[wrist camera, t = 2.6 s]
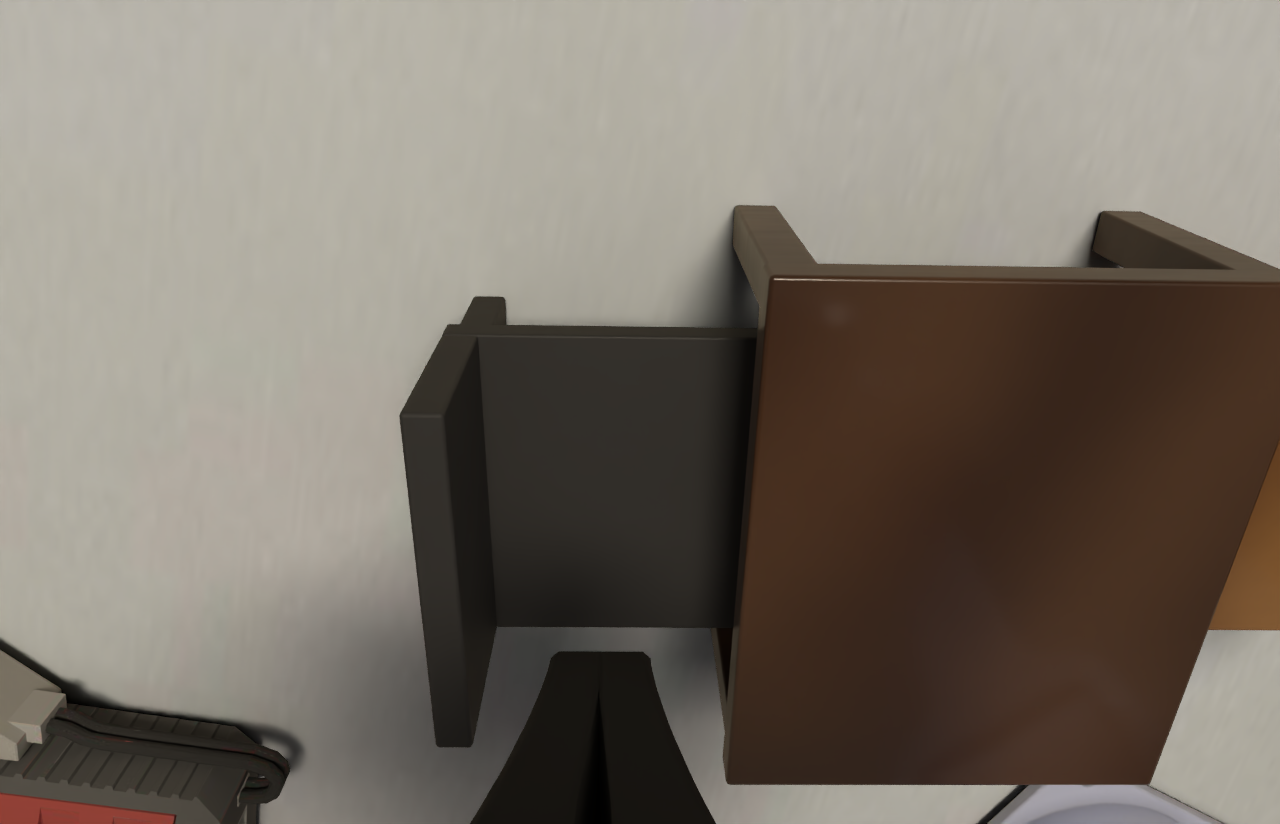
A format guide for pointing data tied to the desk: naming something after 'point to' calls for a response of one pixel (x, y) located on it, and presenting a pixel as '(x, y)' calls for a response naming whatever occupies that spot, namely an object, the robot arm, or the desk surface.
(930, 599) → the dining table
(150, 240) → the desk surface
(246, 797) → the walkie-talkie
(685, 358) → the black chair
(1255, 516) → the oak chair
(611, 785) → the robot arm
